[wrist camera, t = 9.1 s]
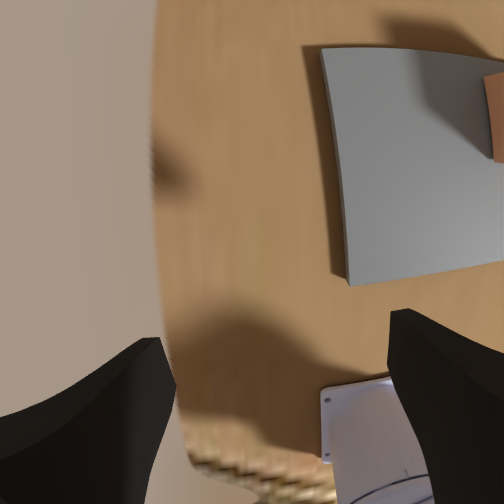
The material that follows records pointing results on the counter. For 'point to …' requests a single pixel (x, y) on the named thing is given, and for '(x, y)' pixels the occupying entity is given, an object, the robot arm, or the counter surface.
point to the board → (414, 161)
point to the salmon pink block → (496, 113)
